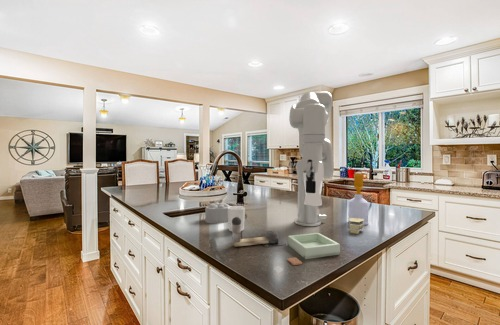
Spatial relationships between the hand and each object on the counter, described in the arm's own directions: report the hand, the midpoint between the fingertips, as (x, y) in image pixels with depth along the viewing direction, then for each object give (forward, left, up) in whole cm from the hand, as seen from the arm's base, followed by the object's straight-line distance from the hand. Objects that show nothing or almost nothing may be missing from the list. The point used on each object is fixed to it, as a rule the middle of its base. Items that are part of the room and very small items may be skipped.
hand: (313, 191), depth 89 cm
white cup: (+20, -31, -21) cm, 43 cm away
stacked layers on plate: (-30, -13, -21) cm, 39 cm away
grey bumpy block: (+25, -49, -21) cm, 59 cm away
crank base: (+11, -3, -21) cm, 24 cm away
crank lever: (+18, -11, -20) cm, 29 cm away
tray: (0, 0, -21) cm, 21 cm away
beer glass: (0, 0, -5) cm, 5 cm away
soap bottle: (-40, -24, -21) cm, 51 cm away
